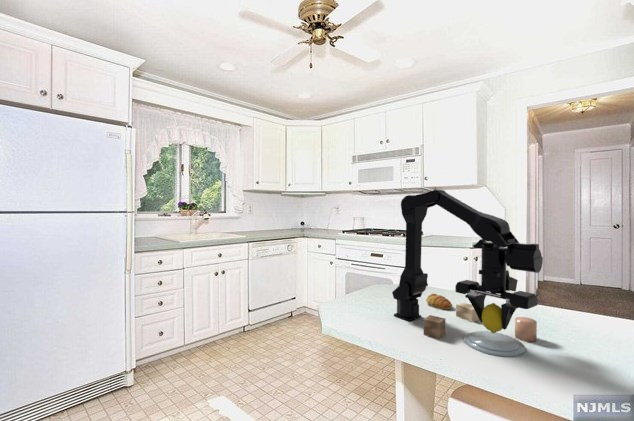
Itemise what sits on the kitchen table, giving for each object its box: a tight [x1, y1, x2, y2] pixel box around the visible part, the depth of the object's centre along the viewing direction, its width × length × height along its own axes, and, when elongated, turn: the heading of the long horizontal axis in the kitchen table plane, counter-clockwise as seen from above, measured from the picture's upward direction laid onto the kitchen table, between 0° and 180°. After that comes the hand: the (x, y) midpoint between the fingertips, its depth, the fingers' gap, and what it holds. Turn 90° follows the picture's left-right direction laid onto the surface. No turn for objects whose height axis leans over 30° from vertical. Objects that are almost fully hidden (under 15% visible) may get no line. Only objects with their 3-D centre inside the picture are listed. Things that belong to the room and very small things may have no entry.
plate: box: [463, 330, 526, 358], centre depth 86 cm, size 14×14×1 cm
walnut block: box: [423, 314, 446, 340], centre depth 93 cm, size 4×4×4 cm
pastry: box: [426, 293, 453, 311], centre depth 118 cm, size 9×7×4 cm
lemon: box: [481, 302, 504, 333], centre depth 86 cm, size 6×6×8 cm
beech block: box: [455, 302, 480, 323], centre depth 106 cm, size 6×4×4 cm, turn 26°
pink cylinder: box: [514, 316, 538, 343], centre depth 90 cm, size 5×5×5 cm
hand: (493, 325), depth 86 cm, fingers closed on lemon, 5 cm apart
